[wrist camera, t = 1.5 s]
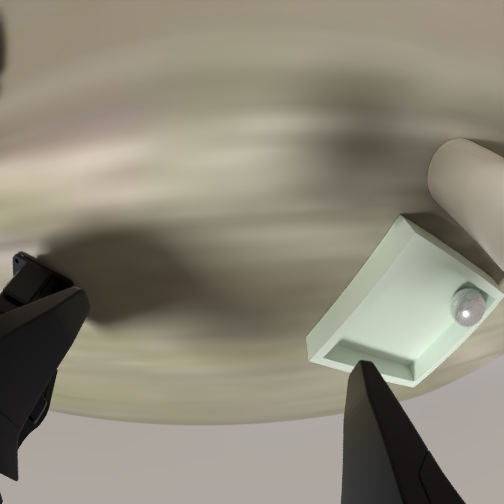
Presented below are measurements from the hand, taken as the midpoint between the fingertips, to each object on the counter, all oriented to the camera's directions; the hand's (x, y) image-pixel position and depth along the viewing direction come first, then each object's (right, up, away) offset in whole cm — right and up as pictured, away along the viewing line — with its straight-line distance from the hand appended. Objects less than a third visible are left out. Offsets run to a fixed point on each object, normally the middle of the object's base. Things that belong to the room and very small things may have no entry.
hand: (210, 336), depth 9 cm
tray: (+14, -2, +15) cm, 21 cm away
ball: (+19, -1, +13) cm, 23 cm away
